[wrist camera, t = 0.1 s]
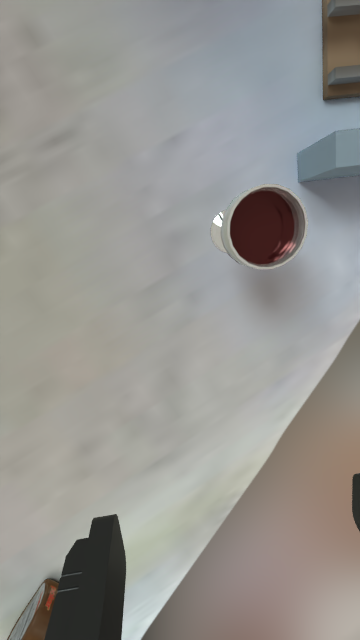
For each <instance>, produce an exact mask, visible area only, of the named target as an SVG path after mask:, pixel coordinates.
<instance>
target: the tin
mask: <svg viewBox="0 0 360 640" xmlns="http://www.w3.org/2000/svg"><path fill="white" fill-rule="evenodd" d="M58 585H59V583H58V582H55V581H53V580H51V579H46V580H45V581H44V582H43V583H42V584H41V586H40V587H39V589H38V590H37V592H36V593H35V595H34V596H33V598H32V599H31V600H30V602H29V603H28V605H27V606H26V608H25V610H24V611H23V613H22V614H21V616H20V617H19V619H18V621H17V622H16V624H15V626H14V628H13V629H12V631H11V633H10V635H9V637H8V639H7V640H44V639H45V635H46V631H47V627H48V623H49V620H50V616H51V612H52V608H53V604H54V601H55V597H56V594H57V589H58Z"/></svg>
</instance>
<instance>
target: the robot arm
mask: <svg viewBox="0 0 360 640" xmlns="http://www.w3.org/2000/svg"><path fill="white" fill-rule="evenodd" d="M352 494H353V495H352V499H353V500H352V512H353V517H354V520H355V523H356V525H357V527H358V529H359V531H360V473H359V474H355V475H354V476H353V491H352ZM61 575H62V576H61V578H60V582H59V585H58V589H57V594H56V597H55V601H54V604H53V608H52V612H51V616H50V620H49V623H48V627H47V631H46V635H45V639H44V640H121V634H122V620H123V606H124V593H125V579H126V557H125V550H124V545H123V540H122V535H121V530H120V525H119V520H118V516H117V515H116V514H114V515H108V516H103V517H97V518H93V520H92V524H91V529H90V534H89V538H84V539H79V540H76V542H75V544H74V545H73V547H72V548H71V550H70V551H69V553H68V554H67V556H66V559H65V563H64V567H63V570H62V574H61Z"/></svg>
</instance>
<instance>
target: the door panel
mask: <svg viewBox="0 0 360 640" xmlns="http://www.w3.org/2000/svg"><path fill="white" fill-rule="evenodd" d="M297 162H298V182H305V181H313V180H322V179H331V178H340V177H348V176H357V175H360V129H350V130H341V131H335V132H334V133H332V134H330V135H328V136H327V137H325V138H323V139H321V140H320V141H318V142H316V143H315V144H313V145H311V146H309V147H308V148H306V149H304V150H302V151H301V152H299V153H297Z"/></svg>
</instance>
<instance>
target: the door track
mask: <svg viewBox="0 0 360 640" xmlns="http://www.w3.org/2000/svg"><path fill="white" fill-rule="evenodd" d="M322 33H323V100H329V99H339V98H349V97H359V96H360V0H322Z"/></svg>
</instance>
